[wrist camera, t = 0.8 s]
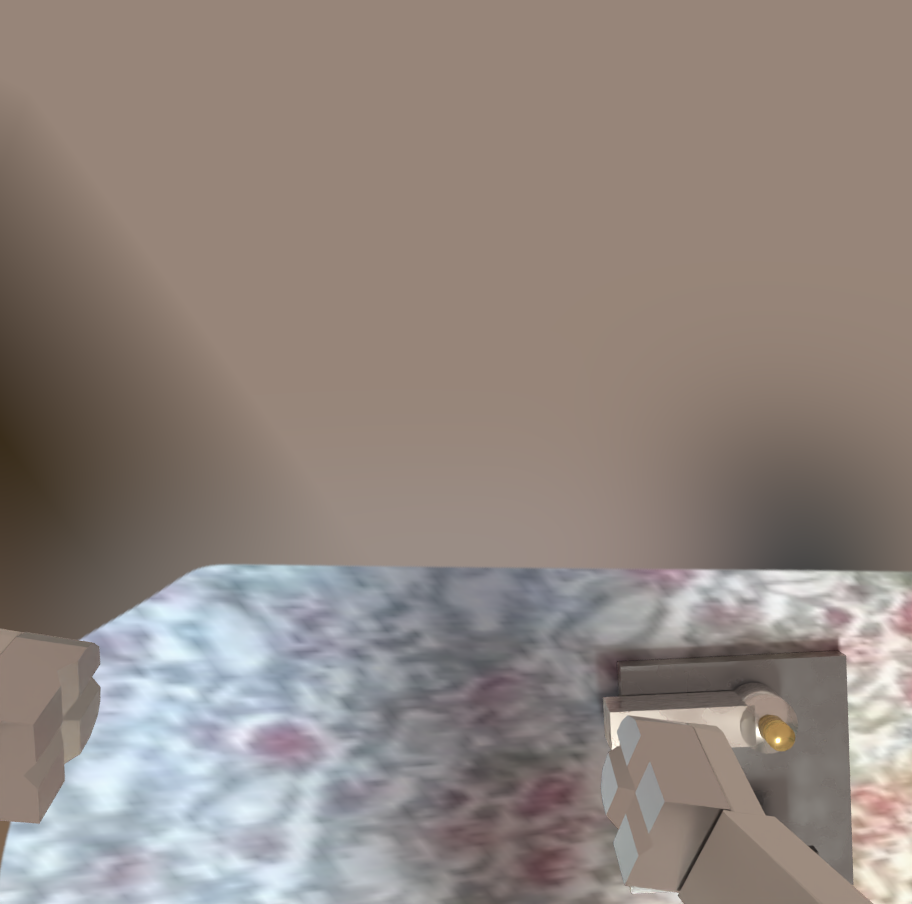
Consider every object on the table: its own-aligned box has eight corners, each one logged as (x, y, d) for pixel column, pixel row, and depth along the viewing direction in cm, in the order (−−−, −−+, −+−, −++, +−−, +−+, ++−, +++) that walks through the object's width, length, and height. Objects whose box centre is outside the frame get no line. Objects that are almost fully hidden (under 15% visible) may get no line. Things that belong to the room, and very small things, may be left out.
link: (779, 681, 54) (796, 695, 51) (781, 734, 54) (798, 751, 51) (602, 689, 54) (609, 704, 51) (605, 743, 54) (612, 760, 51)
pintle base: (837, 650, 55) (883, 679, 49) (845, 874, 56) (891, 930, 49) (617, 661, 55) (635, 691, 49) (627, 883, 56) (646, 940, 50)
